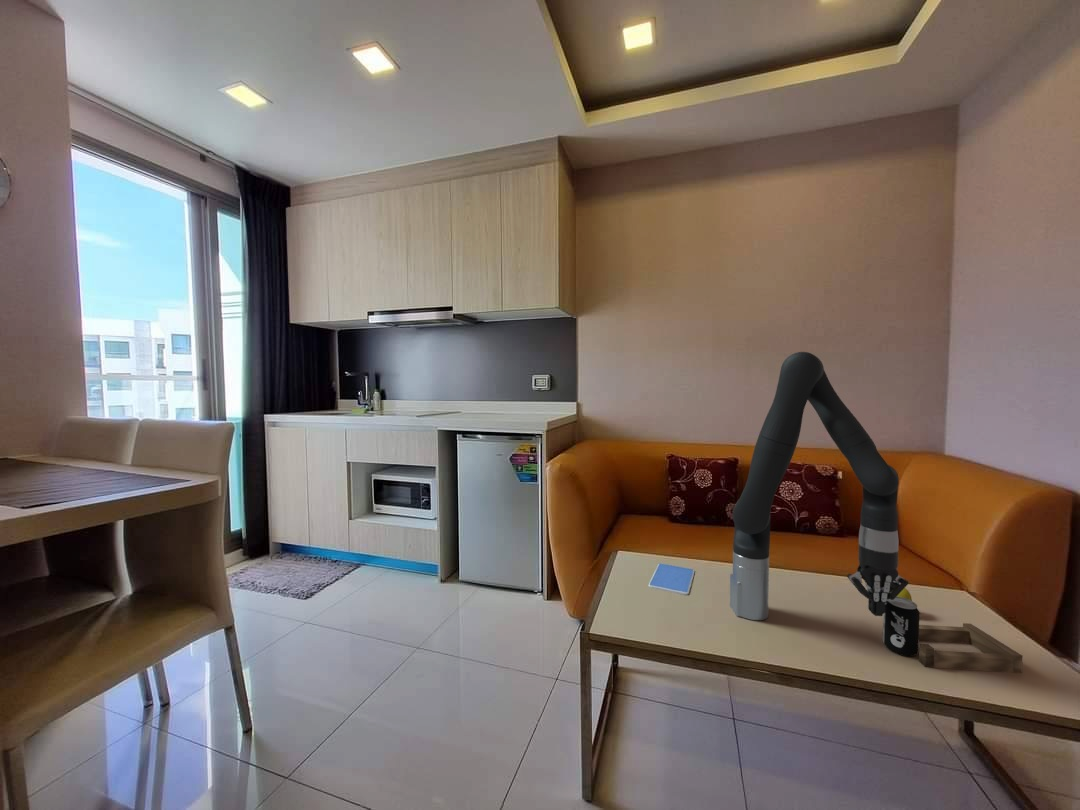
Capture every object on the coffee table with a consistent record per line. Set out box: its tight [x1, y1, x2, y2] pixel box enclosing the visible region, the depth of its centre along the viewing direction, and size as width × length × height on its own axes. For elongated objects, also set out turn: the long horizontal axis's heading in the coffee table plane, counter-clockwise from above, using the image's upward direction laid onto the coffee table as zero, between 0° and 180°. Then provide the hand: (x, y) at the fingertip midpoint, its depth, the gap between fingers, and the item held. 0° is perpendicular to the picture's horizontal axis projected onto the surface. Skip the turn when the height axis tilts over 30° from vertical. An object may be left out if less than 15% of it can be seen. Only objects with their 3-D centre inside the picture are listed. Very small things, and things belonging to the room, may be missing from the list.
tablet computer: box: [648, 563, 696, 596], centre depth 140 cm, size 19×13×1 cm, turn 154°
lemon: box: [897, 587, 913, 601], centre depth 118 cm, size 6×6×8 cm
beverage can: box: [882, 597, 921, 657], centre depth 102 cm, size 7×7×12 cm
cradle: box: [918, 622, 1023, 674], centre depth 100 cm, size 20×13×4 cm, turn 84°
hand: (876, 614), depth 102 cm, fingers closed
